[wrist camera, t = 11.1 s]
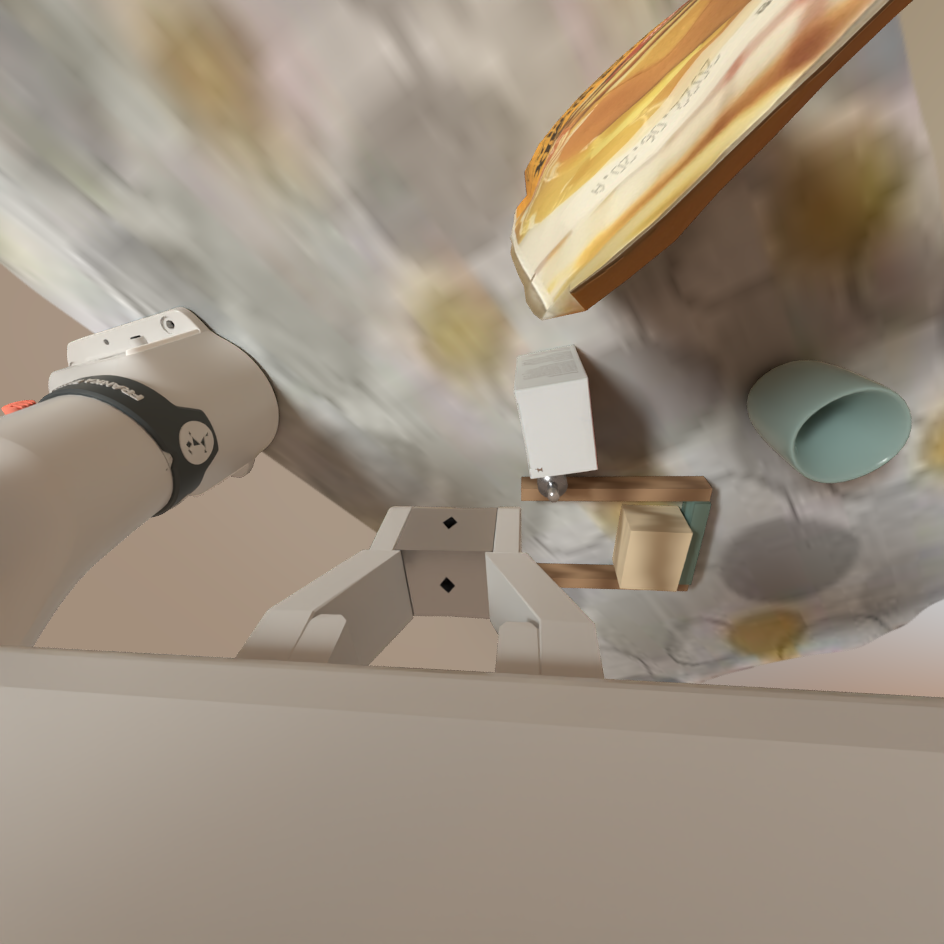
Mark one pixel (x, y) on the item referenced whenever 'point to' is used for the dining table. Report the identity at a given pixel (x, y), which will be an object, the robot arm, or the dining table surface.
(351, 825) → the robot arm
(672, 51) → the pancake mix bag
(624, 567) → the tan tapered block
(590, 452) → the small box
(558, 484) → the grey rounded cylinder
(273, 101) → the dining table surface
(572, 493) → the bay
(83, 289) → the dining table surface
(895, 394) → the cup
